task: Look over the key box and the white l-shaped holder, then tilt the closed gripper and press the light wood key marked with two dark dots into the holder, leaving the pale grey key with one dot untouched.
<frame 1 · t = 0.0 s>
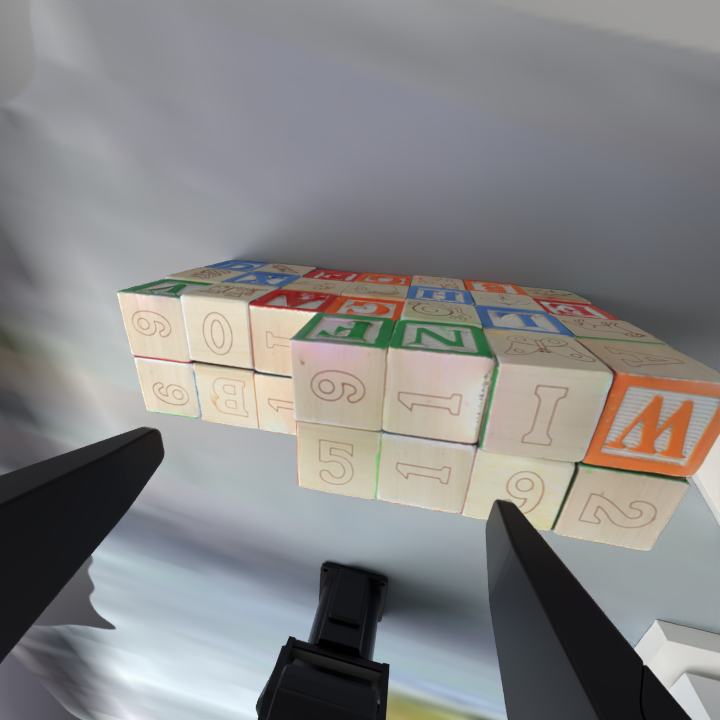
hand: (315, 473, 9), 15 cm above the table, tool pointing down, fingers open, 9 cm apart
stack of blocks: (384, 319, 23), on the table
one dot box: (700, 662, 29), on the table
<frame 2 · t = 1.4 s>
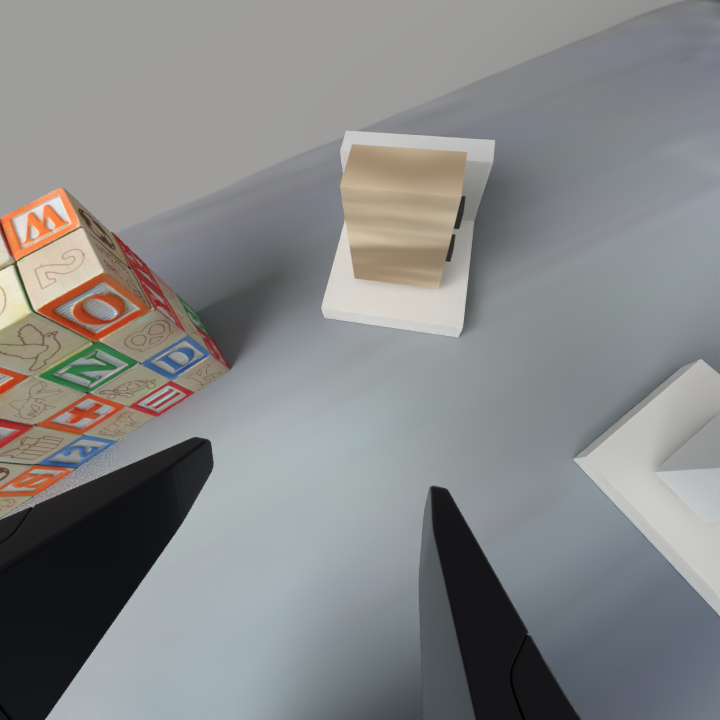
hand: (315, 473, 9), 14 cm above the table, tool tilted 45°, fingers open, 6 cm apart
stack of blocks: (88, 420, 25), on the table
two dot key: (404, 226, 21), point 6 cm above the table, slide at 0.0 cm
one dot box: (685, 464, 20), on the table
white l-shaped holder: (398, 281, 26), on the table
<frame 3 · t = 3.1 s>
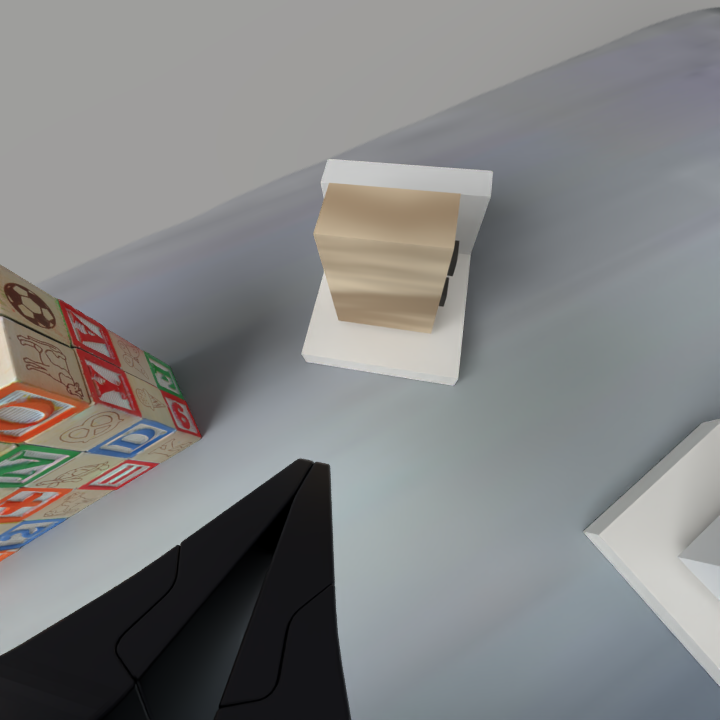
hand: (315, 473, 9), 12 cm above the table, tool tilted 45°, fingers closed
stack of blocks: (40, 488, 22), on the table
two dot key: (391, 269, 19), point 6 cm above the table, slide at 0.0 cm
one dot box: (710, 539, 18), on the table
white l-shaped holder: (387, 321, 24), on the table
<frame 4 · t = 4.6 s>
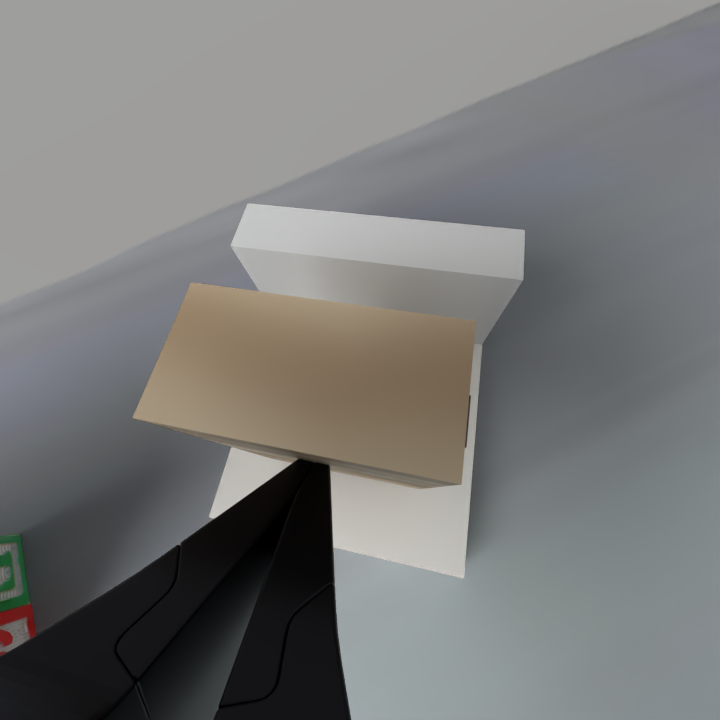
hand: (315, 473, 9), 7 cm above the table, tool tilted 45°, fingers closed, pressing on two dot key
two dot key: (343, 415, 10), point 6 cm above the table, slide at 0.2 cm, touching gripper
white l-shaped holder: (354, 445, 16), on the table
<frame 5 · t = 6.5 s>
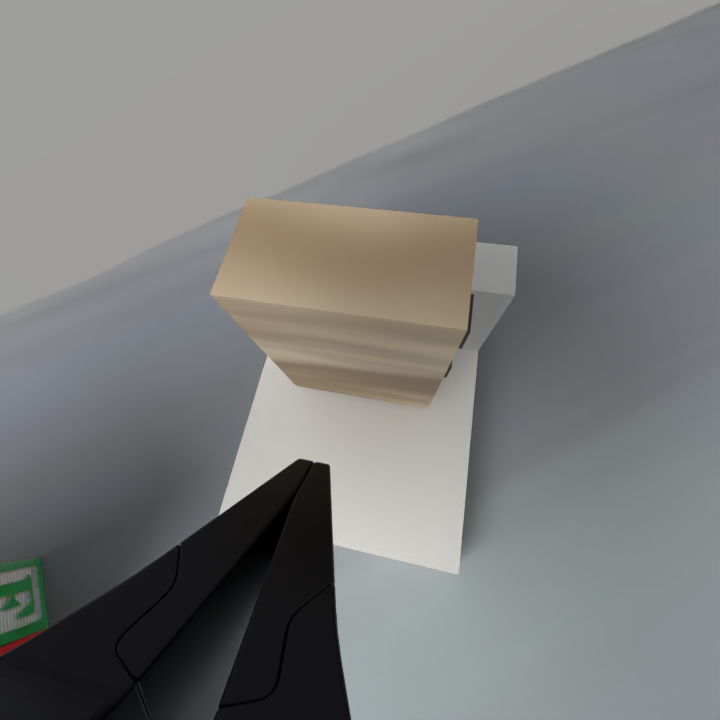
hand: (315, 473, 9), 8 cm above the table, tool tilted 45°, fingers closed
two dot key: (364, 329, 12), point 6 cm above the table, slide at 3.5 cm
white l-shaped holder: (355, 447, 16), on the table
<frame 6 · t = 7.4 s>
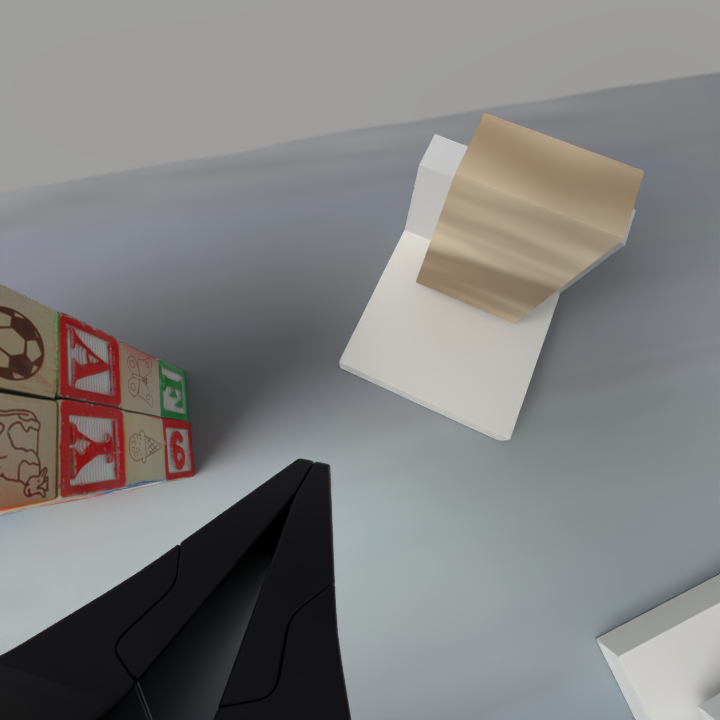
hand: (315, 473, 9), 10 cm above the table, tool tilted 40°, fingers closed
stack of blocks: (3, 459, 19), on the table
two dot key: (506, 241, 16), point 6 cm above the table, slide at 3.5 cm
white l-shaped holder: (442, 344, 21), on the table
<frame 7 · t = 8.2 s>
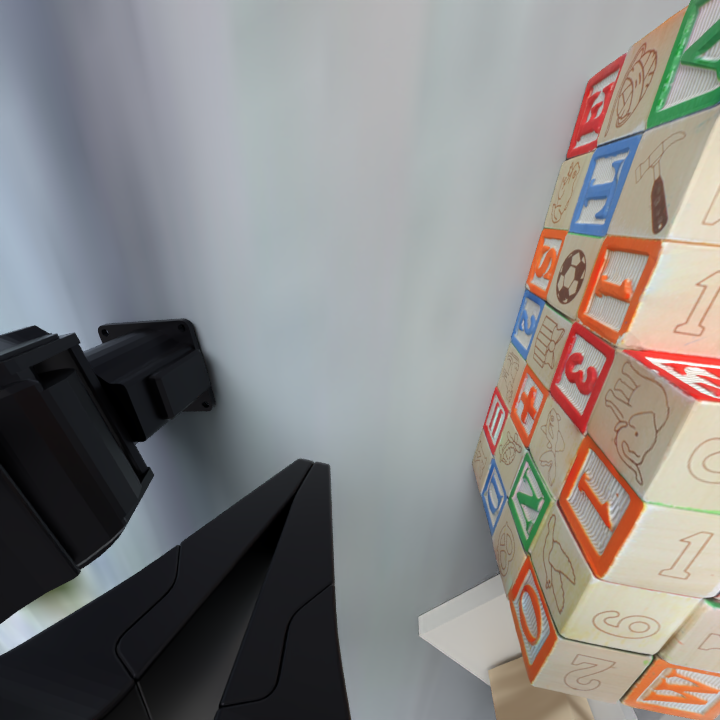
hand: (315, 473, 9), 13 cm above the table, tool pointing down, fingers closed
stack of blocks: (570, 320, 19), on the table
white l-shaped holder: (494, 618, 29), on the table
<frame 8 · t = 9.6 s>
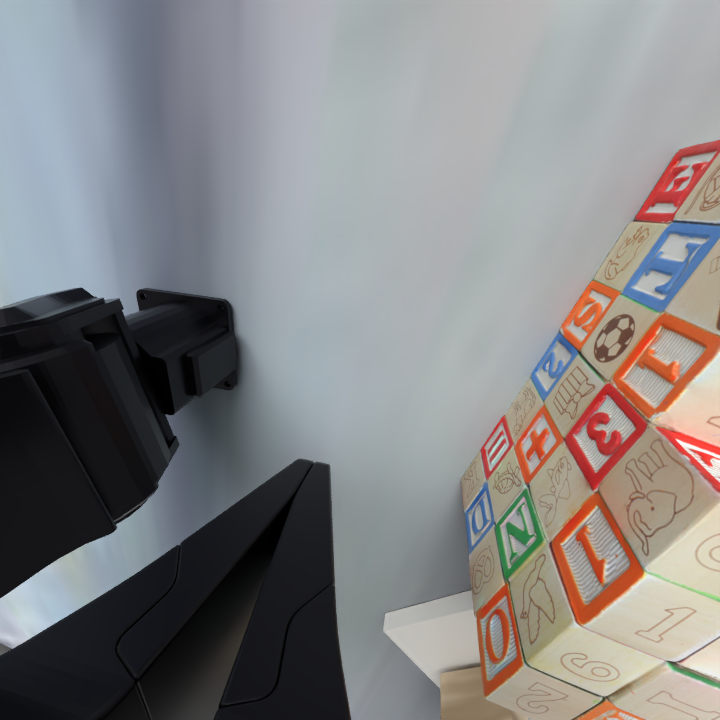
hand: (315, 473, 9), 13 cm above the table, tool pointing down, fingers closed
stack of blocks: (590, 371, 20), on the table
white l-shaped holder: (455, 628, 31), on the table
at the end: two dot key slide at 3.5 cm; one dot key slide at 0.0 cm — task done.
